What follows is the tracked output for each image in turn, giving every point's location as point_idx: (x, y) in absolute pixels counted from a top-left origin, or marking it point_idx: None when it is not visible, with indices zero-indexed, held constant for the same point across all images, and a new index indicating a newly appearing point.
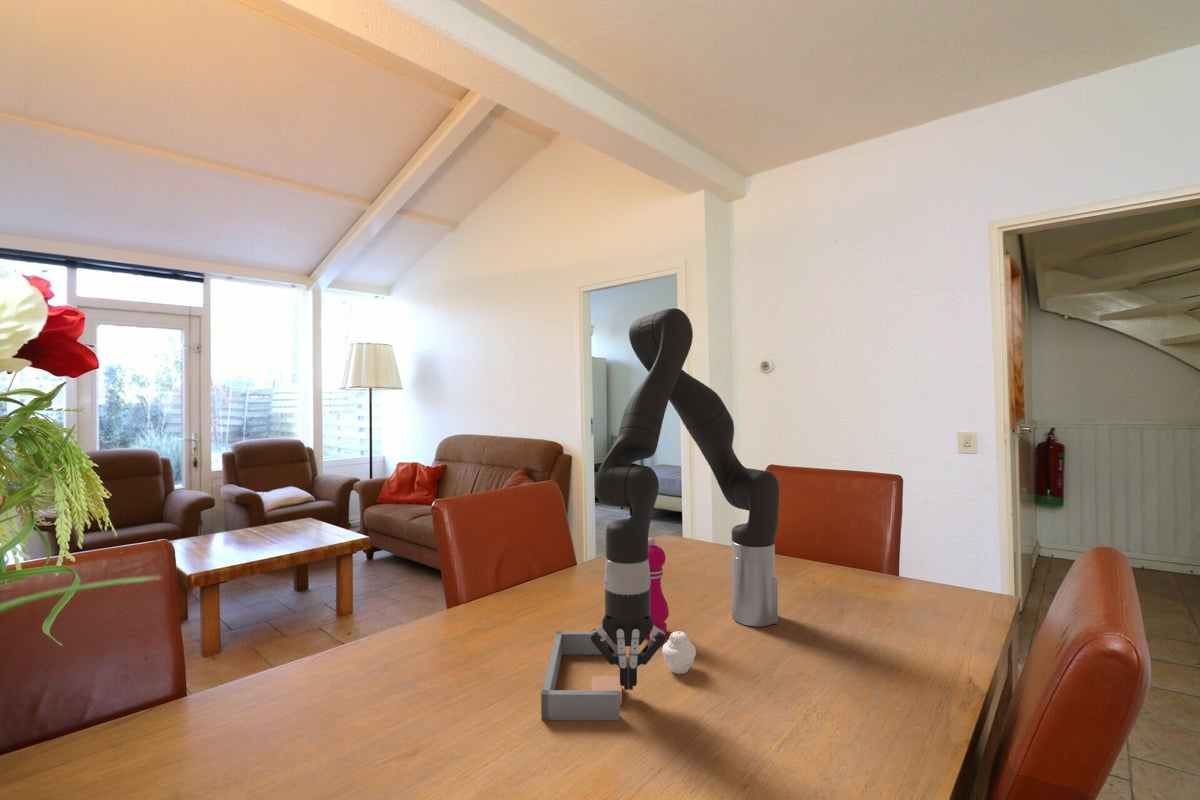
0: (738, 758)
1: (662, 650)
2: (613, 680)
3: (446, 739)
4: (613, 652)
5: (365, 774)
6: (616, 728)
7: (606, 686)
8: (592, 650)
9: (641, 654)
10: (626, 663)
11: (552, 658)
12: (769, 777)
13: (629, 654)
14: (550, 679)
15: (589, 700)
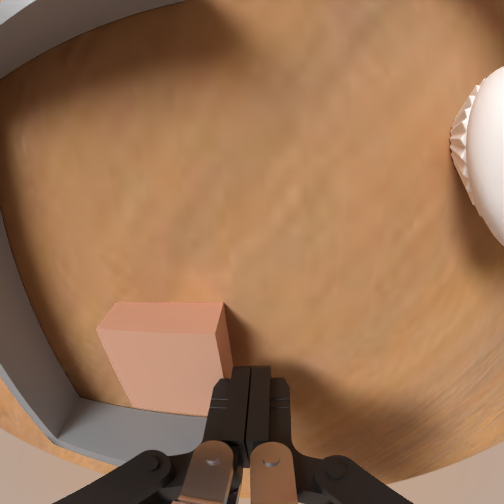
0: (433, 452)
1: (478, 157)
2: (186, 364)
3: (8, 404)
4: (160, 490)
5: (3, 423)
6: None
7: (171, 393)
8: (56, 36)
9: (319, 500)
10: (240, 489)
11: None
12: (445, 460)
13: (250, 480)
14: (27, 406)
15: None
